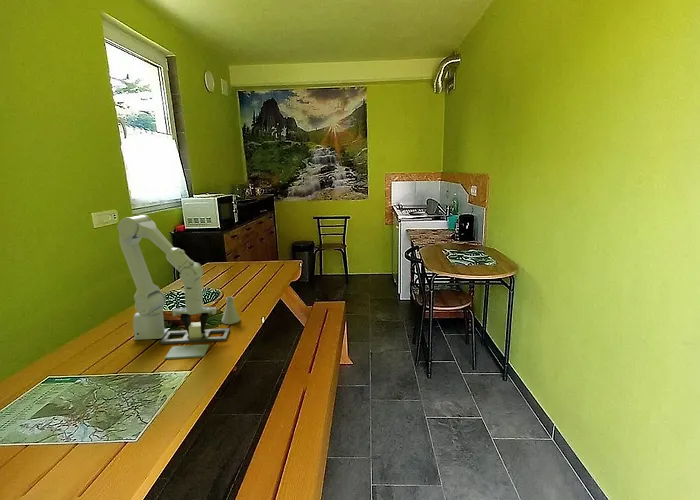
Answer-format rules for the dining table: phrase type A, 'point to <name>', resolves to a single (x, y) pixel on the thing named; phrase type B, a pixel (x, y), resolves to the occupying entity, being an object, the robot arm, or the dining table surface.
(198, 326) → the peg
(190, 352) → the pad
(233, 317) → the flask
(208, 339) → the grey slotted frame
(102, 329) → the dining table surface
